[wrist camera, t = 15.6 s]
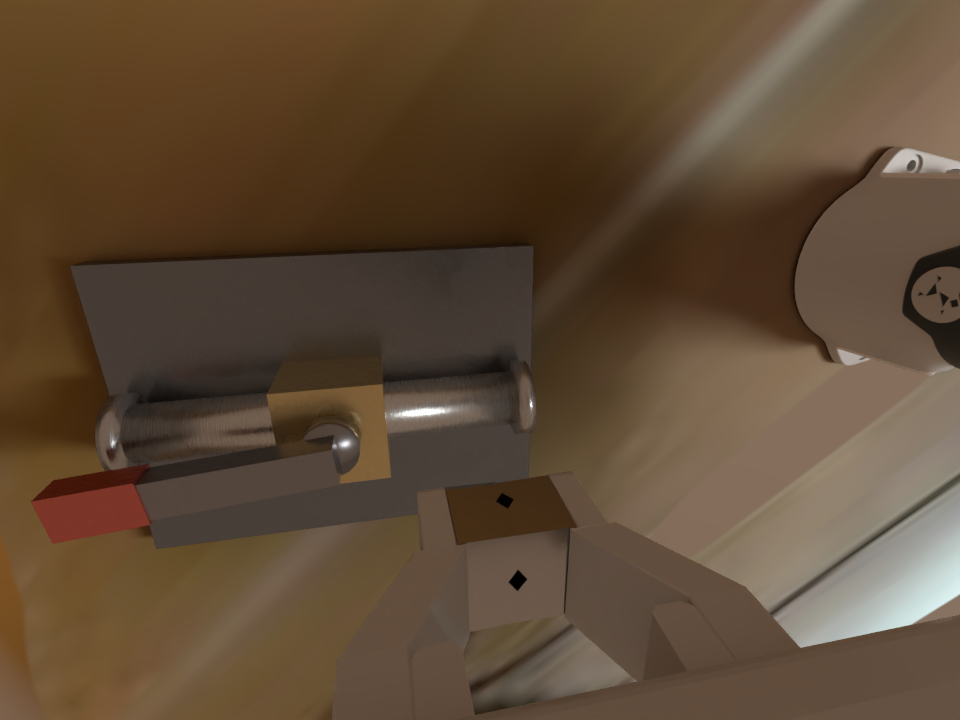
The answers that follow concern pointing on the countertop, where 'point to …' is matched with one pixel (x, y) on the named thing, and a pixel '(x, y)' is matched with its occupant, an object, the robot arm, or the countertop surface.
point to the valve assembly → (317, 371)
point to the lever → (197, 483)
